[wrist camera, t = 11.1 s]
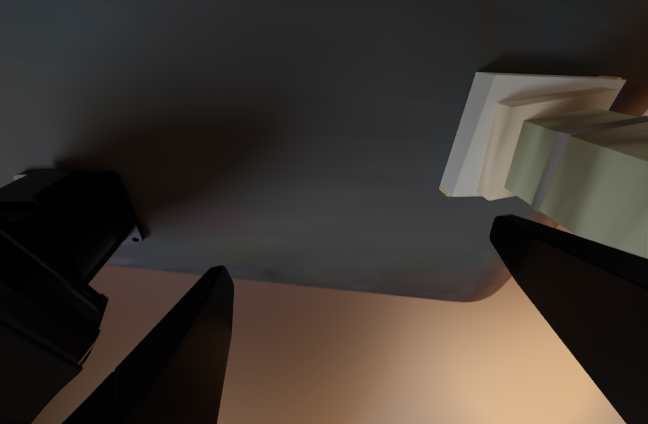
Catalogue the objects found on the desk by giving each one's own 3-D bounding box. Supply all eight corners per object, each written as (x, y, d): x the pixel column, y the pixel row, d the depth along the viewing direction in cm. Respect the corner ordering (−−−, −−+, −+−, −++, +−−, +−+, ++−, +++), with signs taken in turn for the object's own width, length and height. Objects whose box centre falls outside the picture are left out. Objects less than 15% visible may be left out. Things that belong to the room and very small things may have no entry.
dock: (540, 186, 25) (558, 197, 23) (438, 188, 23) (450, 199, 22) (601, 75, 20) (631, 78, 18) (476, 70, 18) (495, 73, 17)
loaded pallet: (476, 191, 22) (668, 340, 11) (496, 102, 18) (828, 197, 7) (557, 177, 22) (825, 309, 11) (594, 86, 18) (1068, 151, 7)
